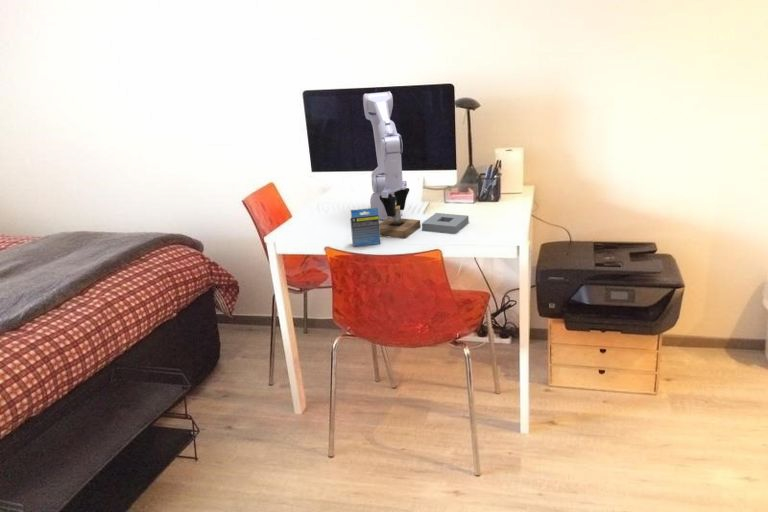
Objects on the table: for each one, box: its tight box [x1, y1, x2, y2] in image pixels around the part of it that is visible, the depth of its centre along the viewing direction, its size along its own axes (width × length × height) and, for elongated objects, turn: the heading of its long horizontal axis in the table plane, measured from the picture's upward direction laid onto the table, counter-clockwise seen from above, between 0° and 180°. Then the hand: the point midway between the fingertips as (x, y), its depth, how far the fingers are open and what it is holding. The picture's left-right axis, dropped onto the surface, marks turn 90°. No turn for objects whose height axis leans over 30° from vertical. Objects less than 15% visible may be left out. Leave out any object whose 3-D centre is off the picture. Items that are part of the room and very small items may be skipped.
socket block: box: [379, 217, 422, 239], centre depth 205 cm, size 12×12×2 cm
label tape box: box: [349, 207, 381, 248], centre depth 194 cm, size 9×4×12 cm, turn 98°
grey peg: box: [392, 204, 402, 227], centre depth 204 cm, size 3×3×9 cm
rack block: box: [421, 212, 470, 234], centre depth 206 cm, size 12×12×2 cm
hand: (395, 213), depth 203 cm, fingers open, 7 cm apart
